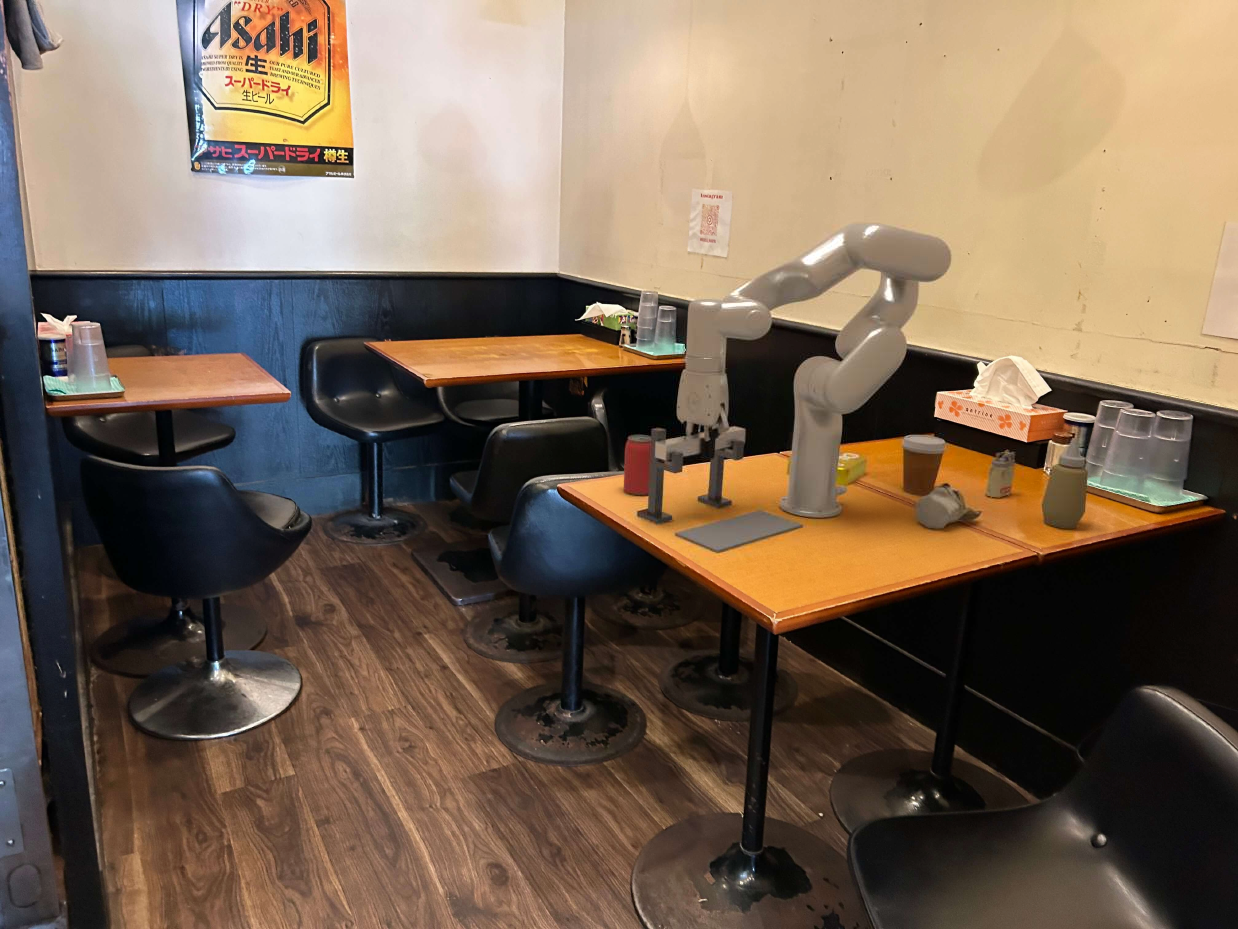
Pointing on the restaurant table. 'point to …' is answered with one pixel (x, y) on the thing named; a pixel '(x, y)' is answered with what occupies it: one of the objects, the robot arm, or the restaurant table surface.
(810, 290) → the robot arm
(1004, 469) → the lighter
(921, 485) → the disposable coffee cup
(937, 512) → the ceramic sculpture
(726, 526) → the mat
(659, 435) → the hook stand
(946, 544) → the restaurant table surface
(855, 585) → the restaurant table surface
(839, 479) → the element tile
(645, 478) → the beer can
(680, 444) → the rail
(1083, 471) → the squeeze bottle
